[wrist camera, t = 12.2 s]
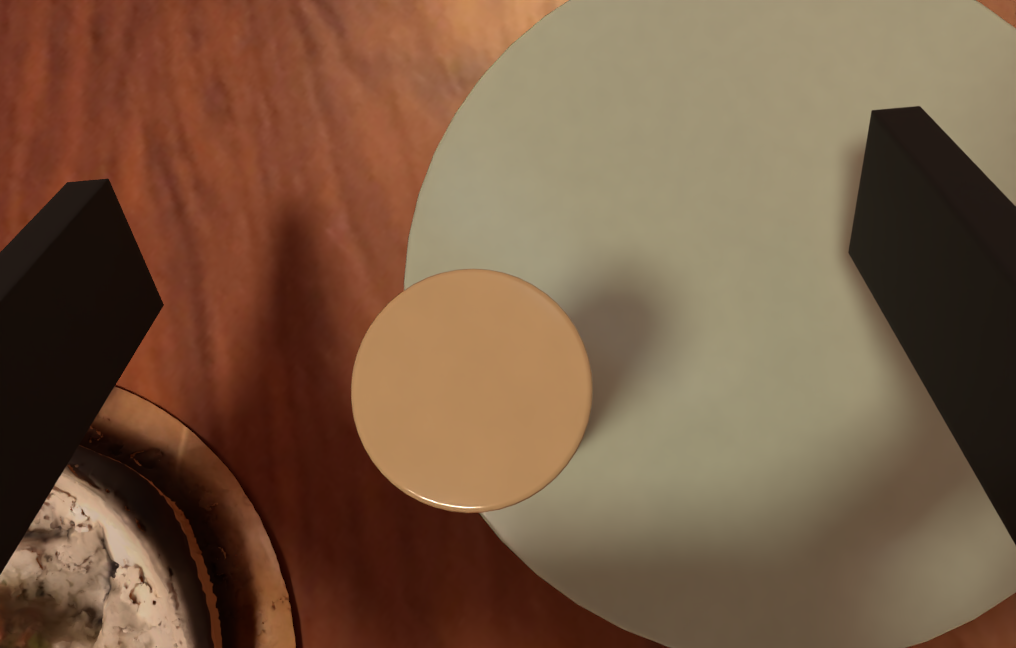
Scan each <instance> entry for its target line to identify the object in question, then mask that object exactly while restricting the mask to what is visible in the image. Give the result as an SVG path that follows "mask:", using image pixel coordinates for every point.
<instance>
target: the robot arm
mask: <svg viewBox="0 0 1016 648" xmlns="http://www.w3.org/2000/svg"><path fill="white" fill-rule="evenodd" d="M848 253H849V255H850V257H851V258H852V260H853V262H854V264H855V265H856V267H857V269H858V271H859V272H860V274H861V276H862V278H863V279H864V281H865V283H866V285H867V286H868V288H869V290H870V292H871V293H872V295H873V297H874V299H875V300H876V302H877V304H878V306H879V307H880V309H881V311H882V313H883V314H884V316H885V318H886V320H887V321H888V323H889V325H890V327H891V328H892V330H893V332H894V334H895V335H896V337H897V339H898V341H899V342H900V344H901V346H902V348H903V349H904V351H905V353H906V355H907V356H908V358H909V360H910V362H911V363H912V365H913V367H914V369H915V370H916V372H917V374H918V376H919V377H920V379H921V381H922V383H923V384H924V386H925V388H926V389H927V391H928V393H929V395H930V396H931V398H932V400H933V402H934V403H935V405H936V407H937V409H938V410H939V412H940V414H941V416H942V417H943V419H944V421H945V423H946V424H947V426H948V428H949V430H950V431H951V433H952V435H953V437H954V438H955V440H956V442H957V444H958V445H959V447H960V449H961V451H962V452H963V454H964V456H965V458H966V459H967V461H968V463H969V465H970V466H971V468H972V470H973V472H974V473H975V475H976V477H977V479H978V480H979V482H980V484H981V486H982V487H983V489H984V491H985V493H986V494H987V496H988V498H989V500H990V501H991V503H992V505H993V507H994V508H995V510H996V512H997V514H998V515H999V517H1000V519H1001V521H1002V522H1003V524H1004V526H1005V528H1006V529H1007V531H1008V533H1009V535H1010V536H1011V538H1012V540H1013V542H1014V543H1015V545H1016V206H1015V205H1014V204H1013V203H1012V202H1011V201H1010V200H1009V199H1008V198H1007V197H1006V196H1005V195H1004V194H1003V192H1002V191H1001V190H1000V189H999V188H998V187H997V186H996V185H995V184H994V183H993V182H992V181H991V180H990V179H989V178H988V177H987V176H986V175H985V174H984V173H983V171H982V170H981V169H980V168H979V167H978V166H977V165H976V164H975V163H974V162H973V161H972V160H971V159H970V158H969V157H968V156H967V155H966V154H965V153H964V152H963V151H962V149H961V148H960V147H959V146H958V145H957V144H956V143H955V142H954V141H953V140H952V139H951V138H950V137H949V136H948V135H947V134H946V133H945V132H944V131H943V130H942V128H941V127H940V126H939V125H938V124H937V123H936V122H935V121H934V120H933V119H932V118H931V117H930V116H929V115H928V114H927V113H926V112H925V111H924V110H923V109H922V108H921V106H914V107H902V108H891V109H880V110H872V111H871V117H870V123H869V129H868V135H867V141H866V148H865V154H864V160H863V166H862V172H861V178H860V184H859V190H858V196H857V202H856V208H855V214H854V220H853V227H852V233H851V239H850V245H849V251H848ZM163 305H164V304H163V302H162V300H161V297H160V295H159V293H158V291H157V288H156V286H155V284H154V281H153V279H152V277H151V275H150V272H149V270H148V268H147V266H146V263H145V261H144V259H143V256H142V254H141V252H140V250H139V247H138V245H137V243H136V240H135V238H134V236H133V234H132V231H131V229H130V227H129V224H128V222H127V220H126V218H125V215H124V213H123V211H122V208H121V206H120V204H119V202H118V199H117V197H116V195H115V192H114V190H113V188H112V186H111V183H110V181H109V179H100V180H89V181H78V182H67V183H66V184H65V185H64V186H63V187H62V189H61V190H60V191H59V192H58V193H57V194H56V195H55V196H54V197H53V198H52V199H51V200H50V201H49V202H48V203H47V204H46V205H45V206H44V207H43V208H42V209H41V210H40V212H39V213H38V214H37V215H36V216H35V217H34V218H33V219H32V220H31V221H30V222H29V223H28V224H27V225H26V226H25V227H24V228H23V229H22V230H21V231H20V232H19V233H18V234H17V236H16V237H15V238H14V239H13V240H12V241H11V242H10V243H9V244H8V245H7V246H6V247H5V248H4V249H3V250H2V251H1V252H0V575H1V573H2V571H3V570H4V568H5V566H6V565H7V563H8V562H9V560H10V558H11V557H12V555H13V553H14V552H15V550H16V548H17V547H18V545H19V543H20V542H21V540H22V538H23V537H24V535H25V533H26V532H27V530H28V528H29V527H30V525H31V523H32V522H33V520H34V519H35V517H36V515H37V514H38V512H39V510H40V509H41V507H42V505H43V504H44V502H45V500H46V499H47V497H48V495H49V494H50V492H51V490H52V489H53V487H54V485H55V484H56V482H57V481H58V479H59V477H60V476H61V474H62V472H63V471H64V469H65V467H66V466H67V464H68V462H69V461H70V459H71V457H72V456H73V454H74V452H75V451H76V449H77V447H78V446H79V444H80V442H81V441H82V439H83V438H84V436H85V434H86V433H87V431H88V429H89V428H90V426H91V424H92V423H93V421H94V419H95V418H96V416H97V414H98V413H99V411H100V409H101V408H102V406H103V404H104V403H105V401H106V400H107V398H108V396H109V395H110V393H111V391H112V390H113V388H114V386H115V385H116V383H117V381H118V380H119V378H120V376H121V375H122V373H123V371H124V370H125V368H126V366H127V365H128V363H129V361H130V360H131V358H132V357H133V355H134V353H135V352H136V350H137V348H138V347H139V345H140V343H141V342H142V340H143V338H144V337H145V335H146V333H147V332H148V330H149V328H150V327H151V325H152V323H153V322H154V320H155V319H156V317H157V315H158V314H159V312H160V310H161V309H162V307H163Z"/></svg>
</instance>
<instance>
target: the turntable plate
mask: <svg viewBox="0 0 1016 648" xmlns="http://www.w3.org/2000/svg"><path fill="white" fill-rule="evenodd" d="M914 106H921V108H922V109H923V110H924V111H925V112H926V113H927V114H928V115H929V116H930V117H931V118H932V119H933V120H934V121H935V122H936V123H937V124H938V125H939V126H940V127H941V128H942V130H943V131H944V132H945V133H946V134H947V135H948V136H949V137H950V138H951V139H952V140H953V141H954V142H955V143H956V144H957V145H958V146H959V147H960V148H961V149H962V151H963V152H964V153H965V154H966V155H967V156H968V157H969V158H970V159H971V160H972V161H973V162H974V163H975V164H976V165H977V166H978V167H979V168H980V169H981V170H982V171H983V173H984V174H985V175H986V176H987V177H988V178H989V179H990V180H991V181H992V182H993V183H994V184H995V185H996V186H997V187H998V188H999V189H1000V190H1001V191H1002V192H1003V194H1004V195H1005V196H1006V197H1007V198H1008V199H1009V200H1010V201H1011V202H1012V203H1013V204H1014V205H1015V206H1016V28H1015V27H1013V26H1012V25H1010V24H1009V23H1008V22H1006V21H1005V20H1003V19H1002V18H1001V17H999V16H998V15H997V14H995V13H994V12H992V11H991V10H990V9H988V8H987V7H985V6H984V5H983V4H981V3H979V2H978V1H976V0H569V1H567V2H566V3H564V4H563V5H561V6H560V7H558V8H557V9H555V10H554V11H552V12H550V13H549V14H547V15H546V16H545V17H543V18H542V19H541V20H540V21H539V22H537V23H536V24H535V25H534V26H533V27H532V28H530V29H529V30H528V31H527V32H526V33H524V34H523V35H522V36H521V37H520V38H518V39H517V40H516V41H515V42H514V43H513V44H511V45H510V46H509V48H508V49H507V50H506V51H505V52H504V53H503V54H502V55H501V56H500V57H499V58H498V60H497V61H496V62H495V63H494V64H493V65H492V66H491V67H490V68H489V69H488V70H487V71H486V73H485V74H484V75H483V76H482V77H481V78H480V79H479V81H478V82H477V84H476V85H475V86H474V88H473V89H472V91H471V92H470V93H469V95H468V96H467V98H466V99H465V101H464V102H463V103H462V105H461V106H460V108H459V109H458V110H457V112H456V113H455V115H454V117H453V119H452V120H451V122H450V124H449V126H448V128H447V130H446V132H445V134H444V135H443V137H442V139H441V141H440V143H439V145H438V147H437V149H436V150H435V152H434V155H433V157H432V160H431V163H430V165H429V168H428V171H427V173H426V176H425V179H424V181H423V184H422V186H421V189H420V192H419V194H418V199H417V203H416V207H415V211H414V216H413V220H412V224H411V228H410V233H409V237H408V245H407V255H406V265H405V275H404V291H402V292H401V293H400V294H398V295H397V296H396V297H395V298H394V299H393V300H391V301H390V302H389V303H388V304H387V305H386V306H385V307H384V309H383V310H382V311H381V312H380V313H379V314H378V315H377V317H376V318H375V320H374V321H373V322H372V324H371V325H370V327H369V328H368V330H367V332H366V334H365V336H364V338H363V340H362V342H361V344H360V347H359V350H358V352H357V355H356V359H355V363H354V367H353V371H352V380H351V405H352V412H353V418H354V422H355V425H356V429H357V432H358V435H359V437H360V440H361V442H362V444H363V447H364V449H365V450H366V452H367V454H368V455H369V457H370V459H371V460H372V462H373V463H374V465H375V466H376V467H377V468H378V470H379V471H380V472H381V473H382V474H383V475H384V476H385V477H386V478H387V479H388V480H389V481H390V482H391V483H392V484H393V485H394V486H395V487H397V488H398V489H399V490H401V491H402V492H404V493H405V494H406V495H408V496H410V497H412V498H414V499H415V500H417V501H419V502H421V503H424V504H426V505H429V506H432V507H434V508H438V509H442V510H446V511H450V512H460V513H479V514H480V515H481V517H482V518H483V519H484V520H485V522H486V523H487V524H488V525H489V526H490V528H491V529H492V530H493V531H494V533H495V534H496V535H497V536H498V538H499V539H500V540H501V541H502V542H503V543H504V544H505V545H506V546H507V547H508V548H509V549H510V550H511V551H512V552H513V553H514V554H515V555H516V556H518V557H519V558H520V559H521V560H522V561H523V562H524V563H525V564H526V565H527V566H528V567H529V568H530V569H531V570H532V571H533V572H534V573H535V574H536V575H538V576H539V577H540V578H542V579H543V580H544V581H546V582H547V583H549V584H550V585H551V586H553V587H554V588H555V589H557V590H558V591H559V592H561V593H562V594H564V595H565V596H566V597H568V598H569V599H570V600H572V601H573V602H575V603H576V604H577V605H579V606H581V607H583V608H584V609H586V610H588V611H590V612H592V613H593V614H595V615H597V616H599V617H601V618H603V619H604V620H606V621H608V622H610V623H612V624H613V625H615V626H617V627H619V628H621V629H623V630H625V631H628V632H630V633H633V634H635V635H638V636H641V637H643V638H646V639H648V640H651V641H653V642H656V643H658V644H661V645H664V646H666V647H669V648H907V647H911V646H914V645H917V644H921V643H924V642H927V641H929V640H931V639H933V638H936V637H938V636H940V635H942V634H944V633H946V632H948V631H951V630H953V629H955V628H957V627H959V626H961V625H964V624H966V623H968V622H970V621H972V620H974V619H976V618H977V617H979V616H980V615H982V614H983V613H985V612H987V611H988V610H990V609H991V608H993V607H994V606H996V605H997V604H999V603H1000V602H1002V601H1003V600H1005V599H1007V598H1008V597H1010V596H1011V595H1013V594H1014V593H1016V545H1015V543H1014V542H1013V540H1012V538H1011V536H1010V535H1009V533H1008V531H1007V529H1006V528H1005V526H1004V524H1003V522H1002V521H1001V519H1000V517H999V515H998V514H997V512H996V510H995V508H994V507H993V505H992V503H991V501H990V500H989V498H988V496H987V494H986V493H985V491H984V489H983V487H982V486H981V484H980V482H979V480H978V479H977V477H976V475H975V473H974V472H973V470H972V468H971V466H970V465H969V463H968V461H967V459H966V458H965V456H964V454H963V452H962V451H961V449H960V447H959V445H958V444H957V442H956V440H955V438H954V437H953V435H952V433H951V431H950V430H949V428H948V426H947V424H946V423H945V421H944V419H943V417H942V416H941V414H940V412H939V410H938V409H937V407H936V405H935V403H934V402H933V400H932V398H931V396H930V395H929V393H928V391H927V389H926V388H925V386H924V384H923V383H922V381H921V379H920V377H919V376H918V374H917V372H916V370H915V369H914V367H913V365H912V363H911V362H910V360H909V358H908V356H907V355H906V353H905V351H904V349H903V348H902V346H901V344H900V342H899V341H898V339H897V337H896V335H895V334H894V332H893V330H892V328H891V327H890V325H889V323H888V321H887V320H886V318H885V316H884V314H883V313H882V311H881V309H880V307H879V306H878V304H877V302H876V300H875V299H874V297H873V295H872V293H871V292H870V290H869V288H868V286H867V285H866V283H865V281H864V279H863V278H862V276H861V274H860V272H859V271H858V269H857V267H856V265H855V264H854V262H853V260H852V258H851V257H850V255H849V253H848V251H849V245H850V239H851V233H852V227H853V220H854V214H855V208H856V202H857V196H858V190H859V184H860V178H861V172H862V166H863V160H864V154H865V148H866V141H867V135H868V129H869V123H870V117H871V111H872V110H880V109H891V108H902V107H914Z"/></svg>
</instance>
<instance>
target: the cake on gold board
mask: <svg viewBox="0 0 1016 648" xmlns="http://www.w3.org/2000/svg"><path fill="white" fill-rule="evenodd" d="M181 514H182V515H181ZM241 554H242V555H241ZM235 555H237V556H235ZM236 565H237V567H236ZM285 586H286V584H285V582H284V580H283V578H282V575H281V572H280V567H279V563H278V561H277V558H276V554H275V552H274V550H273V548H272V546H271V543H270V540H269V537H268V535H267V533H266V530H265V529H264V527H263V524H262V522H261V519H260V517H259V515H258V514H257V512H256V511H255V509H254V506H253V505H252V503H251V502H250V501H249V499H248V498H247V496H246V495H245V493H244V491H243V489H242V488H241V486H240V484H239V483H238V481H237V480H236V478H235V477H234V475H233V474H232V473H231V472H230V470H229V469H228V468H227V467H226V466H225V465H224V463H223V462H222V461H221V460H220V459H219V458H218V457H217V456H216V455H215V454H214V453H213V452H212V451H211V449H210V448H208V447H207V446H206V445H205V444H204V443H203V442H202V441H201V440H200V439H199V438H198V437H197V436H196V435H195V434H194V433H193V432H192V431H190V430H189V429H188V428H187V427H186V426H184V425H183V424H182V423H181V422H180V421H178V420H177V419H175V418H173V417H172V416H171V415H169V414H168V413H166V412H165V411H163V410H162V409H160V408H158V407H156V406H155V405H153V404H152V403H150V402H148V401H146V400H144V399H142V398H140V397H138V396H136V395H134V394H132V393H130V392H127V391H125V390H122V389H120V388H117V387H115V386H114V388H113V390H112V391H111V393H110V395H109V396H108V398H107V400H106V401H105V403H104V404H103V406H102V408H101V409H100V411H99V413H98V414H97V416H96V418H95V419H94V421H93V423H92V424H91V426H90V428H89V429H88V431H87V433H86V434H85V436H84V438H83V439H82V441H81V442H80V444H79V446H78V447H77V449H76V451H75V452H74V454H73V456H72V457H71V459H70V461H69V462H68V464H67V466H66V467H65V469H64V471H63V472H62V474H61V476H60V477H59V479H58V481H57V482H56V484H55V485H54V487H53V489H52V490H51V492H50V494H49V495H48V497H47V499H46V500H45V502H44V504H43V505H42V507H41V509H40V510H39V512H38V514H37V515H36V517H35V519H34V520H33V522H32V523H31V525H30V527H29V528H28V530H27V532H26V533H25V535H24V537H23V538H22V540H21V542H20V543H19V545H18V547H17V548H16V550H15V552H14V553H13V555H12V557H11V558H10V560H9V562H8V563H7V565H6V566H5V568H4V570H3V571H2V573H1V575H0V648H296V642H295V634H294V628H293V623H292V615H291V606H290V603H289V596H288V592H287V590H286V587H285Z"/></svg>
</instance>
